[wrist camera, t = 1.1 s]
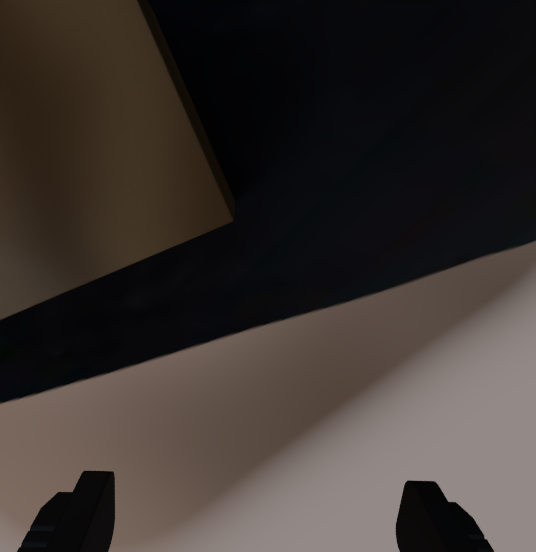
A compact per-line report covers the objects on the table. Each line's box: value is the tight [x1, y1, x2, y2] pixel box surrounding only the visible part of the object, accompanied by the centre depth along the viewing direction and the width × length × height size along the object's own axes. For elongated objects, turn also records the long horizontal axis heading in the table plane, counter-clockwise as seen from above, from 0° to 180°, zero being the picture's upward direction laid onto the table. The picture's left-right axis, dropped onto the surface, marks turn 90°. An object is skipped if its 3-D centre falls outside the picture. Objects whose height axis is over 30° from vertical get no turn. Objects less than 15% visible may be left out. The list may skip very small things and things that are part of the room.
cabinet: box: [0, 0, 235, 320], centre depth 27 cm, size 17×14×10 cm
